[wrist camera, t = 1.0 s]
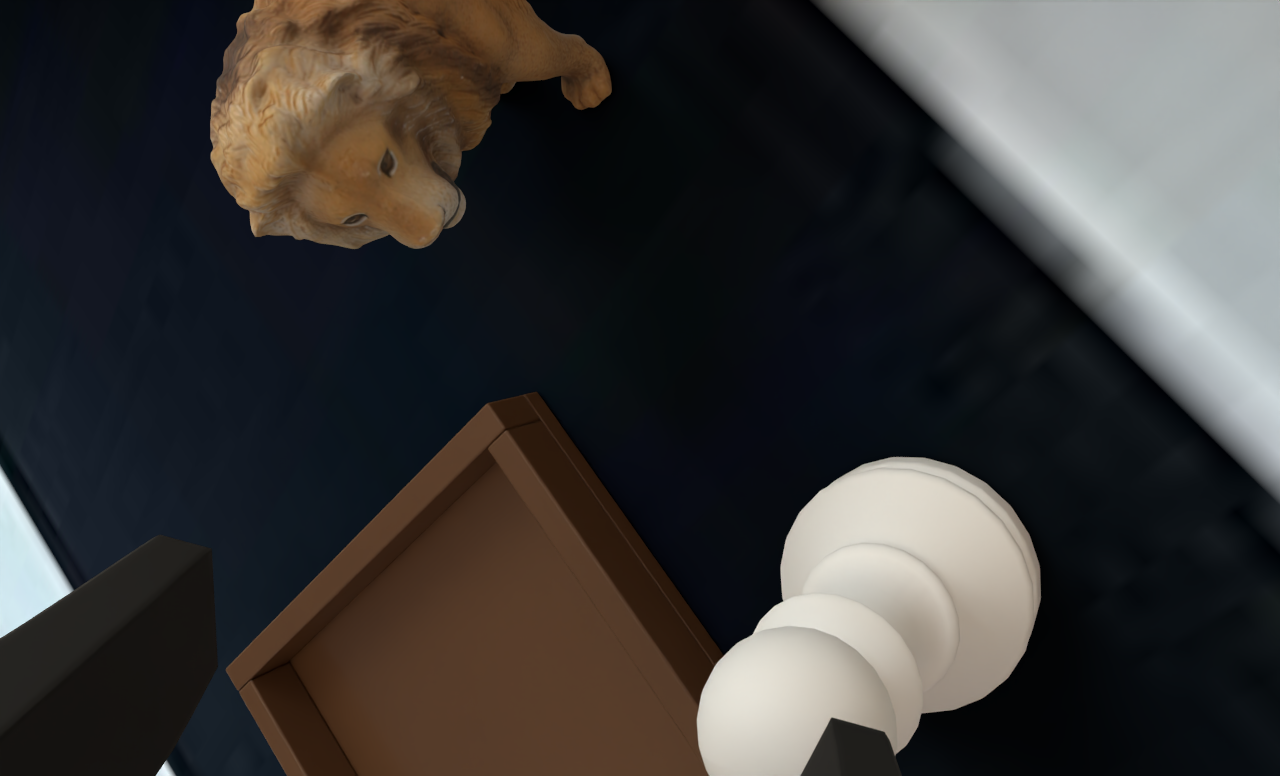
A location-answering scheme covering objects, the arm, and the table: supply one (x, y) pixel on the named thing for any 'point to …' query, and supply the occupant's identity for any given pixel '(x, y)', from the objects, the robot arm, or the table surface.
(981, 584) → the chess pawn
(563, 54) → the lion figurine
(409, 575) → the tray
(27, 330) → the table surface
